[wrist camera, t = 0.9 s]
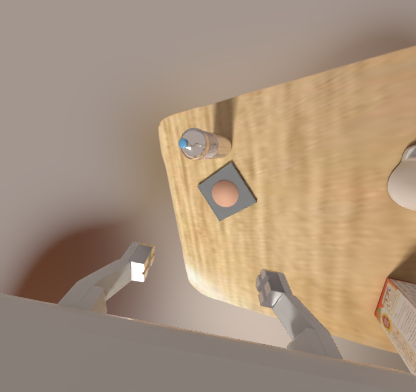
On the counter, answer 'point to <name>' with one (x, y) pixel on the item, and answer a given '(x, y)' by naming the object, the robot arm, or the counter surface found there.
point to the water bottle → (203, 145)
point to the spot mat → (226, 192)
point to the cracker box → (400, 318)
